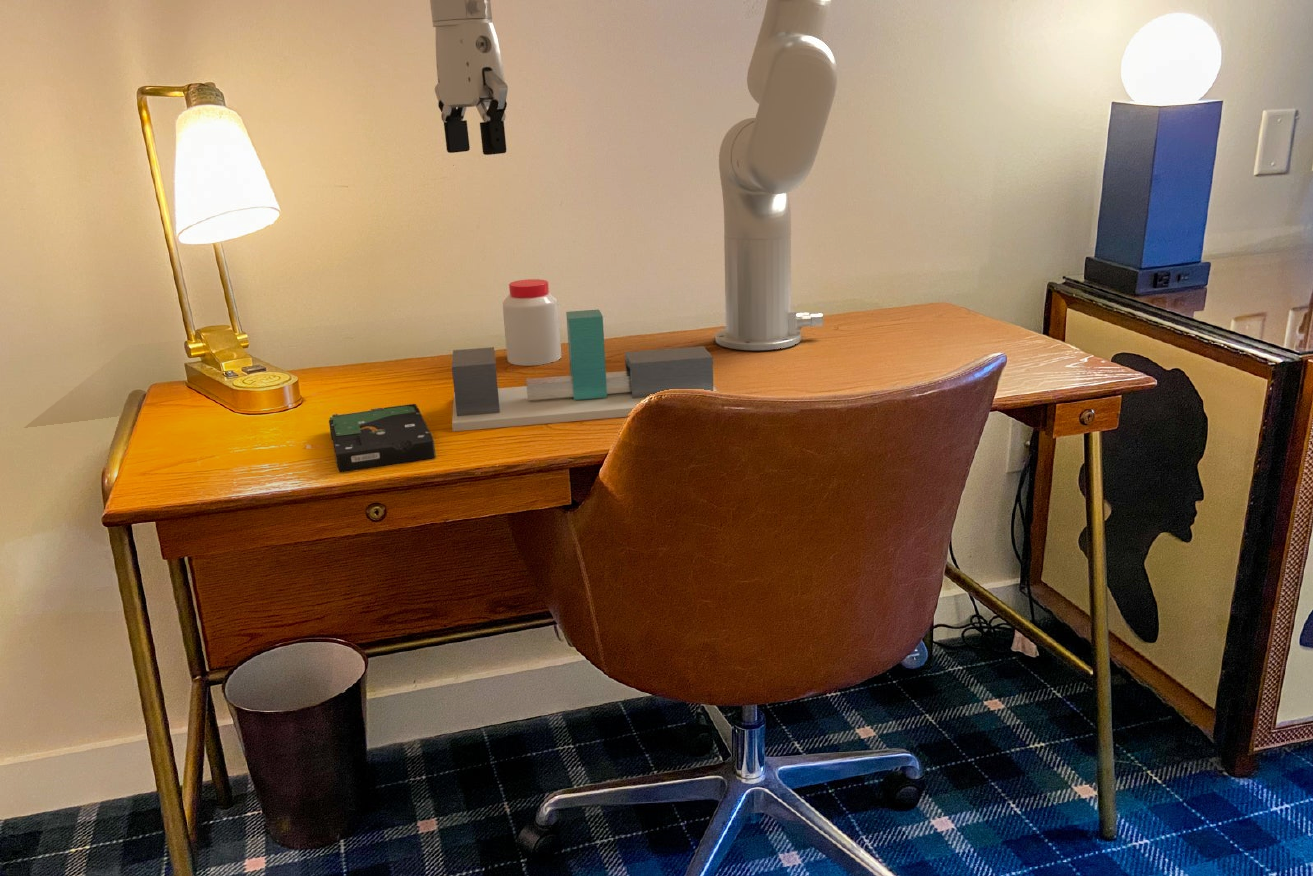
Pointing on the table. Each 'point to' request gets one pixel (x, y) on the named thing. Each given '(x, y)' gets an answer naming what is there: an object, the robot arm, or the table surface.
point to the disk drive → (380, 438)
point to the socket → (475, 381)
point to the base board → (545, 410)
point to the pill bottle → (531, 324)
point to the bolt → (582, 364)
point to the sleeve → (669, 370)
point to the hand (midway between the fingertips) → (476, 152)
